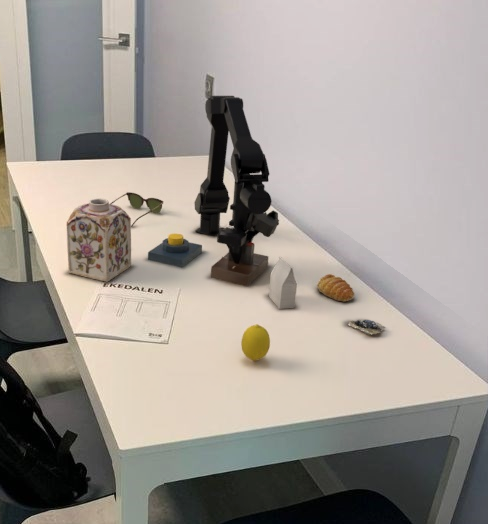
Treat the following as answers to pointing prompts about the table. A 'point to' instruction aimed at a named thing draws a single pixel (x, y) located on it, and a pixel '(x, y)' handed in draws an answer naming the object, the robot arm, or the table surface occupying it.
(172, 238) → the button
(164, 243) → the blue button base
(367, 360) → the table surface
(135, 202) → the sunglasses
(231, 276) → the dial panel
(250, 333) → the lemon
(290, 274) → the grey wedge block
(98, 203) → the decorative jar
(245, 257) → the dark grey block
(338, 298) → the pastry
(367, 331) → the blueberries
